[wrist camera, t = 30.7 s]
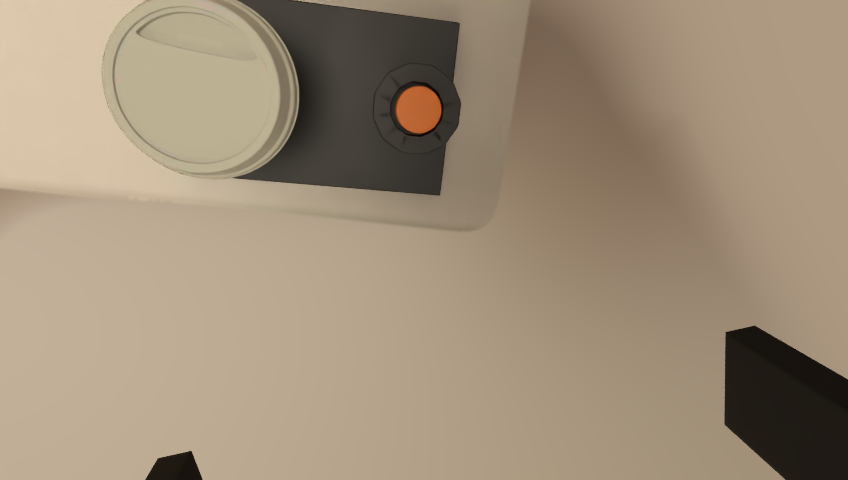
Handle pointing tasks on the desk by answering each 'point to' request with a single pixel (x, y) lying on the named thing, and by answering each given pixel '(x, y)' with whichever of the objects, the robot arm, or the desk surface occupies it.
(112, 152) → the desk surface
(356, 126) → the scale
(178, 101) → the coffee cup
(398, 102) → the button
